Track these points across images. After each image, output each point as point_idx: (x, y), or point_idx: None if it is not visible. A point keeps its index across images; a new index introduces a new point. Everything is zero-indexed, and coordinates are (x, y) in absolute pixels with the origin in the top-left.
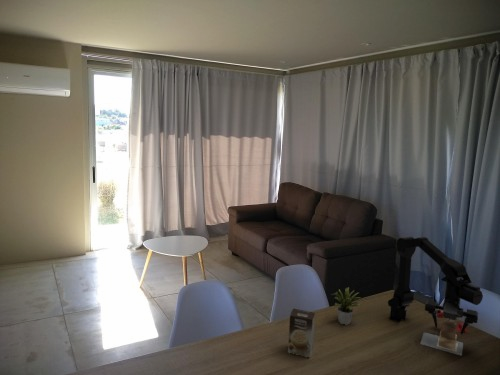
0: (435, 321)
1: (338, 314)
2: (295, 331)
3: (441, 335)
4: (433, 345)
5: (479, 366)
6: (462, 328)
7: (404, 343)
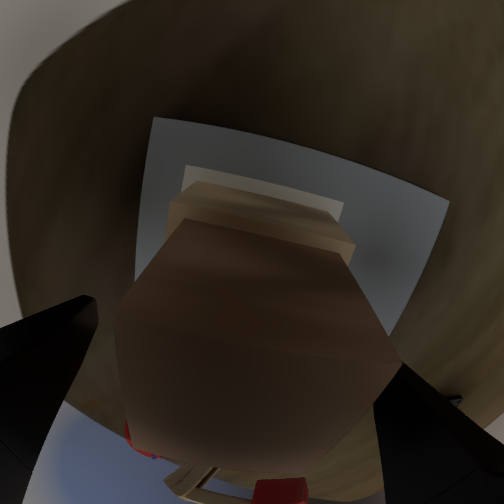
0: (446, 410)
1: None
2: None
3: (337, 259)
4: (367, 205)
5: (72, 72)
6: (28, 340)
7: (501, 203)
